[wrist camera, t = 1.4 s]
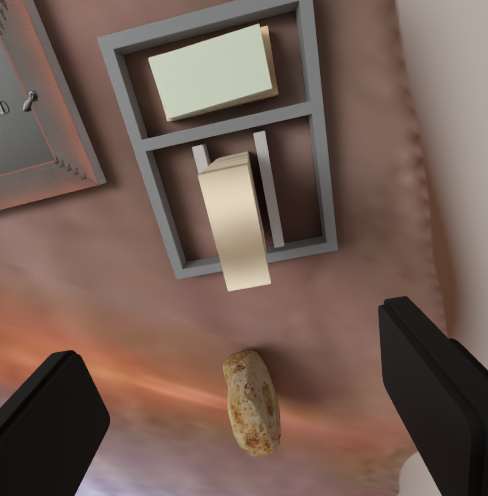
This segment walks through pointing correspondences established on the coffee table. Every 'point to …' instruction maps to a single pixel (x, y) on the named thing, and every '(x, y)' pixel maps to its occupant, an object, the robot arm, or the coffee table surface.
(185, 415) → the coffee table surface
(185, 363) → the coffee table surface
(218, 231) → the birch board
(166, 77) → the upper offcut
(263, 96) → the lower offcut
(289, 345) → the coffee table surface
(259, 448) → the tan rounded piece
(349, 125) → the coffee table surface
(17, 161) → the picture frame
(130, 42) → the rack
